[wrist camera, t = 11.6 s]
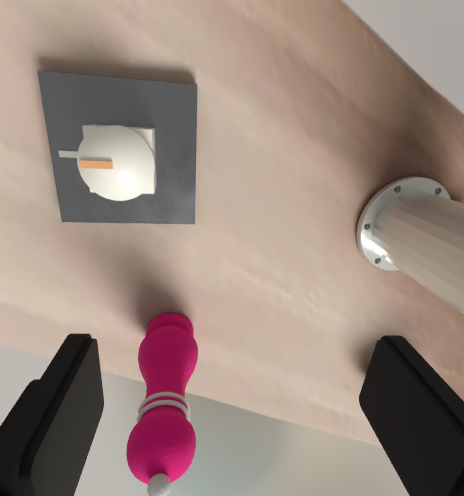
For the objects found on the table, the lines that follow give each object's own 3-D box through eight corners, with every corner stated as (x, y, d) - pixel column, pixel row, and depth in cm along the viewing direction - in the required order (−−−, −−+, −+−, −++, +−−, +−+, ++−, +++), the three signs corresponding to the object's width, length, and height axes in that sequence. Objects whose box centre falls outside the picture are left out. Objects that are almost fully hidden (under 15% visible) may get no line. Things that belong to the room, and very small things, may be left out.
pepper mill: (199, 347, 43) (209, 515, 25) (148, 355, 42) (120, 534, 24) (193, 305, 40) (199, 461, 22) (138, 313, 39) (97, 480, 21)
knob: (156, 126, 30) (152, 128, 24) (158, 187, 32) (155, 202, 26) (91, 122, 28) (70, 123, 23) (97, 185, 31) (81, 201, 25)
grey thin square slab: (196, 86, 30) (198, 80, 25) (194, 220, 35) (195, 235, 31) (44, 72, 28) (17, 64, 23) (67, 217, 33) (48, 233, 29)
